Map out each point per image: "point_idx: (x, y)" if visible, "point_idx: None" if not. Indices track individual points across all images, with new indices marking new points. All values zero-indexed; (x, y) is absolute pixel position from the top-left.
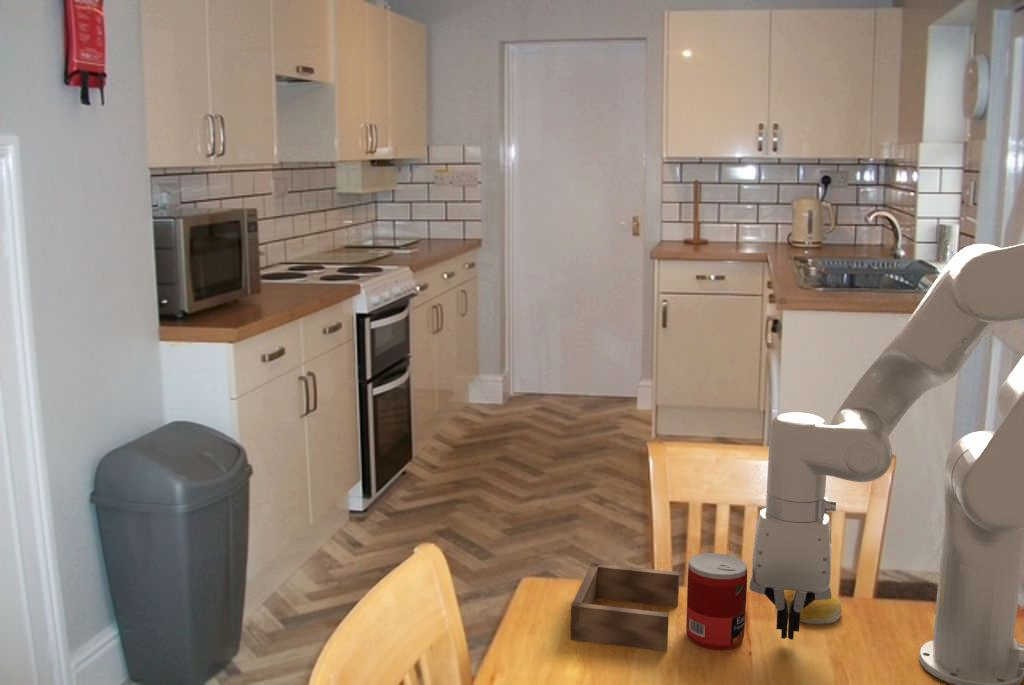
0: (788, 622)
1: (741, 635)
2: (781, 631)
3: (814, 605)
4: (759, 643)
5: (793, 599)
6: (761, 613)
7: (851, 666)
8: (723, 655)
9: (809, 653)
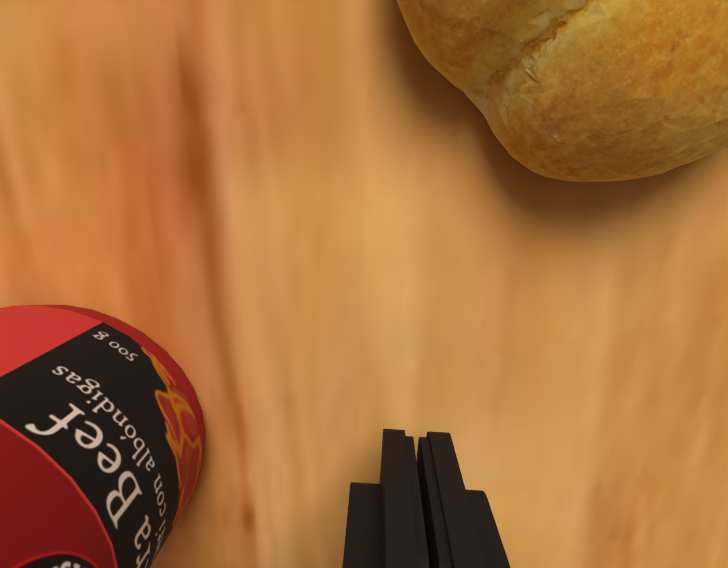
0: (422, 476)
1: (181, 511)
2: (381, 460)
3: (653, 135)
4: (284, 430)
5: (500, 19)
6: (283, 73)
7: (667, 554)
8: None
9: (504, 480)
